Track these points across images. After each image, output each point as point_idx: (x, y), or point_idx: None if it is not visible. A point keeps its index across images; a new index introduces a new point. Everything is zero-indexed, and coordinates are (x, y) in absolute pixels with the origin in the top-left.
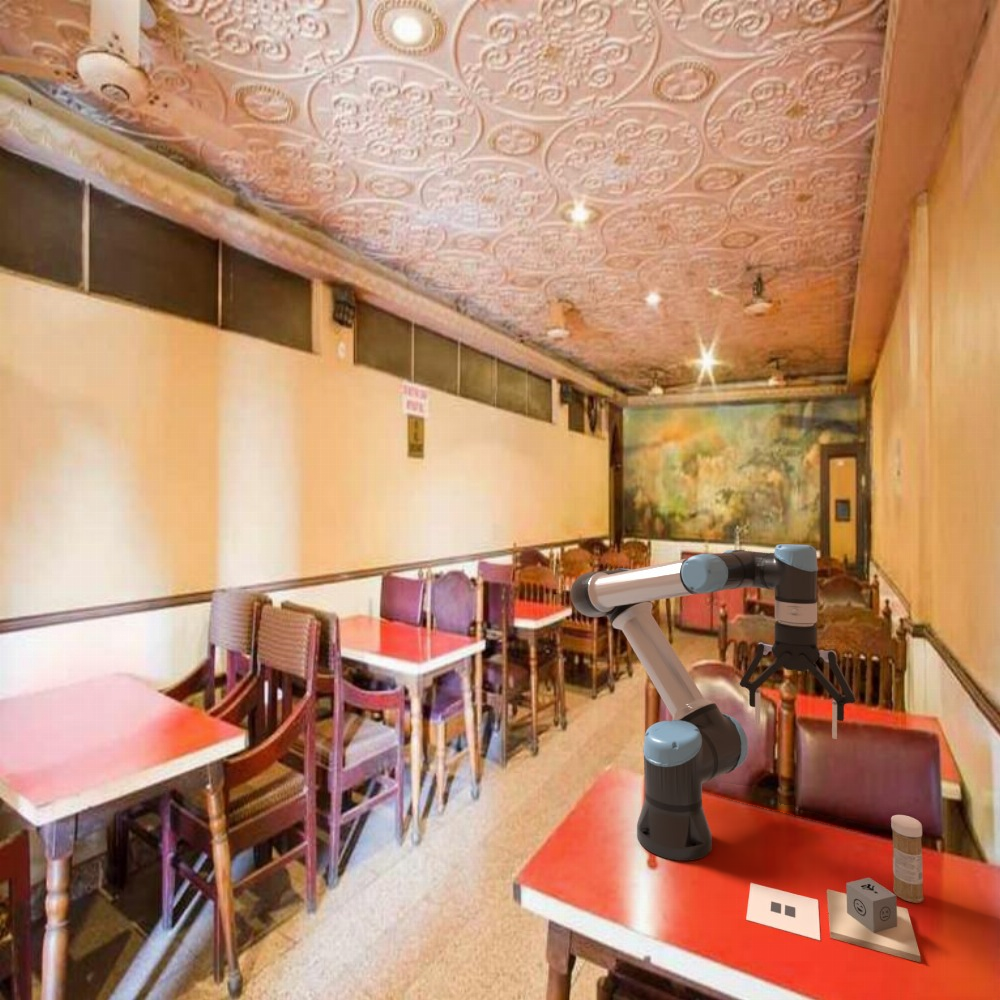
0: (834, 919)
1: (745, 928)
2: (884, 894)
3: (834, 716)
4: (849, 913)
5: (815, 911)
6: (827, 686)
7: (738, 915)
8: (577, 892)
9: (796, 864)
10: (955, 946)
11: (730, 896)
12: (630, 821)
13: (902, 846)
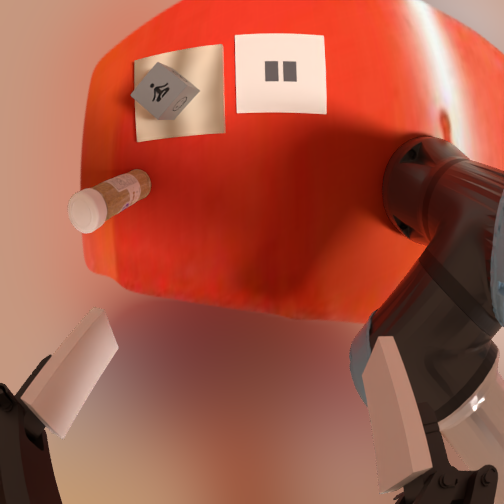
0: (215, 68)
1: (322, 22)
2: (142, 87)
3: (52, 365)
4: (197, 88)
5: (239, 85)
6: (11, 477)
7: (333, 41)
8: (485, 53)
9: (265, 192)
10: (106, 112)
11: (348, 75)
12: None
13: (105, 186)
